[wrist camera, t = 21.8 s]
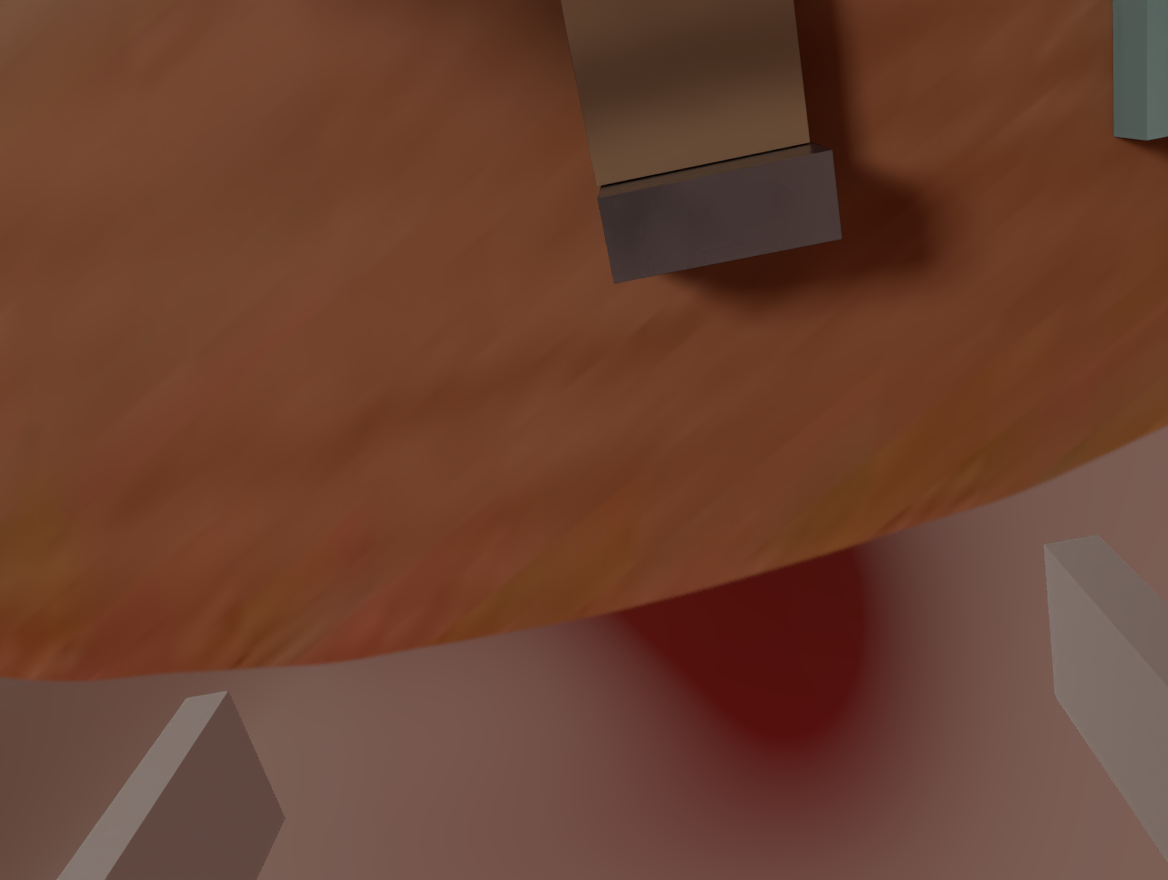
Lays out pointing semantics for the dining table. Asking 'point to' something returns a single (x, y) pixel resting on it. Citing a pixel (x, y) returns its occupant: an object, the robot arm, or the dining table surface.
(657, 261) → the block
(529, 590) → the dining table surface
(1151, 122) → the tray
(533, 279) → the dining table surface
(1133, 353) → the dining table surface
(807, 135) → the tan square block
